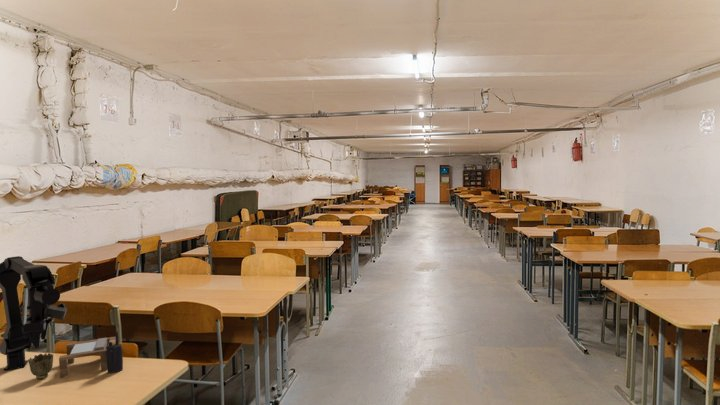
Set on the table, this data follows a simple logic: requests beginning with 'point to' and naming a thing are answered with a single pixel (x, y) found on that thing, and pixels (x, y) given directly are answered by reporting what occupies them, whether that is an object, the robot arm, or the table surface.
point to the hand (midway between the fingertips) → (40, 343)
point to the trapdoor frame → (70, 357)
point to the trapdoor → (90, 346)
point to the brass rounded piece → (41, 365)
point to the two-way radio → (114, 356)
